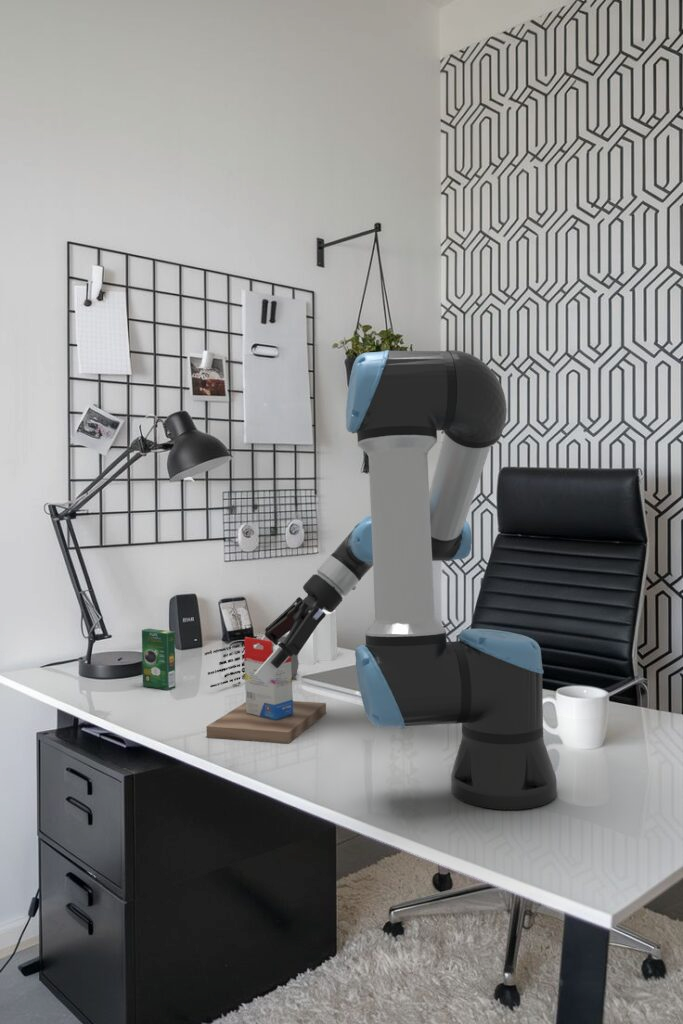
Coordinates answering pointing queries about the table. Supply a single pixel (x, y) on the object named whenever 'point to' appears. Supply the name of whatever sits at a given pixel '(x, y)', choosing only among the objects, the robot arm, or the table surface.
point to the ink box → (273, 695)
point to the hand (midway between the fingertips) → (253, 671)
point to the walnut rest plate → (266, 724)
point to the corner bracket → (321, 642)
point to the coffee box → (158, 658)
